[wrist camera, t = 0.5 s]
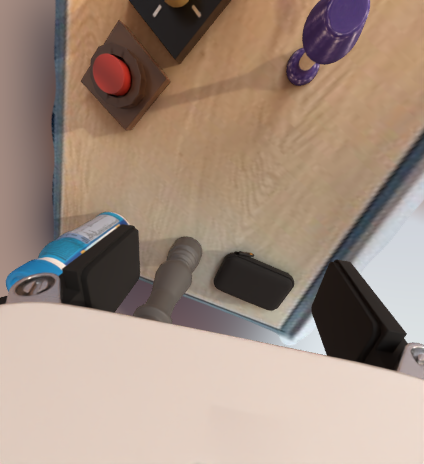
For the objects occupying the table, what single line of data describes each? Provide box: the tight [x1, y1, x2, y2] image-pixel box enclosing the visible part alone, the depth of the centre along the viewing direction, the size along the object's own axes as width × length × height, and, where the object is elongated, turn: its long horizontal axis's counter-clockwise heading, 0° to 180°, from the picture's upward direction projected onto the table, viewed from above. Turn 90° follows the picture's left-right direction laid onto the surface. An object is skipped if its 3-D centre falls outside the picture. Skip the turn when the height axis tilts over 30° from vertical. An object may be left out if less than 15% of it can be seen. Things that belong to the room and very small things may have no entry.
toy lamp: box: [286, 0, 370, 86], centre depth 23 cm, size 5×5×17 cm
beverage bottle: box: [6, 212, 130, 292], centre depth 37 cm, size 8×8×20 cm
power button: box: [93, 54, 131, 96], centre depth 30 cm, size 4×4×2 cm
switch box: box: [81, 20, 171, 130], centre depth 32 cm, size 10×9×4 cm
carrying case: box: [214, 251, 294, 311], centre depth 44 cm, size 11×3×15 cm
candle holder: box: [133, 237, 202, 324], centre depth 34 cm, size 6×6×25 cm
